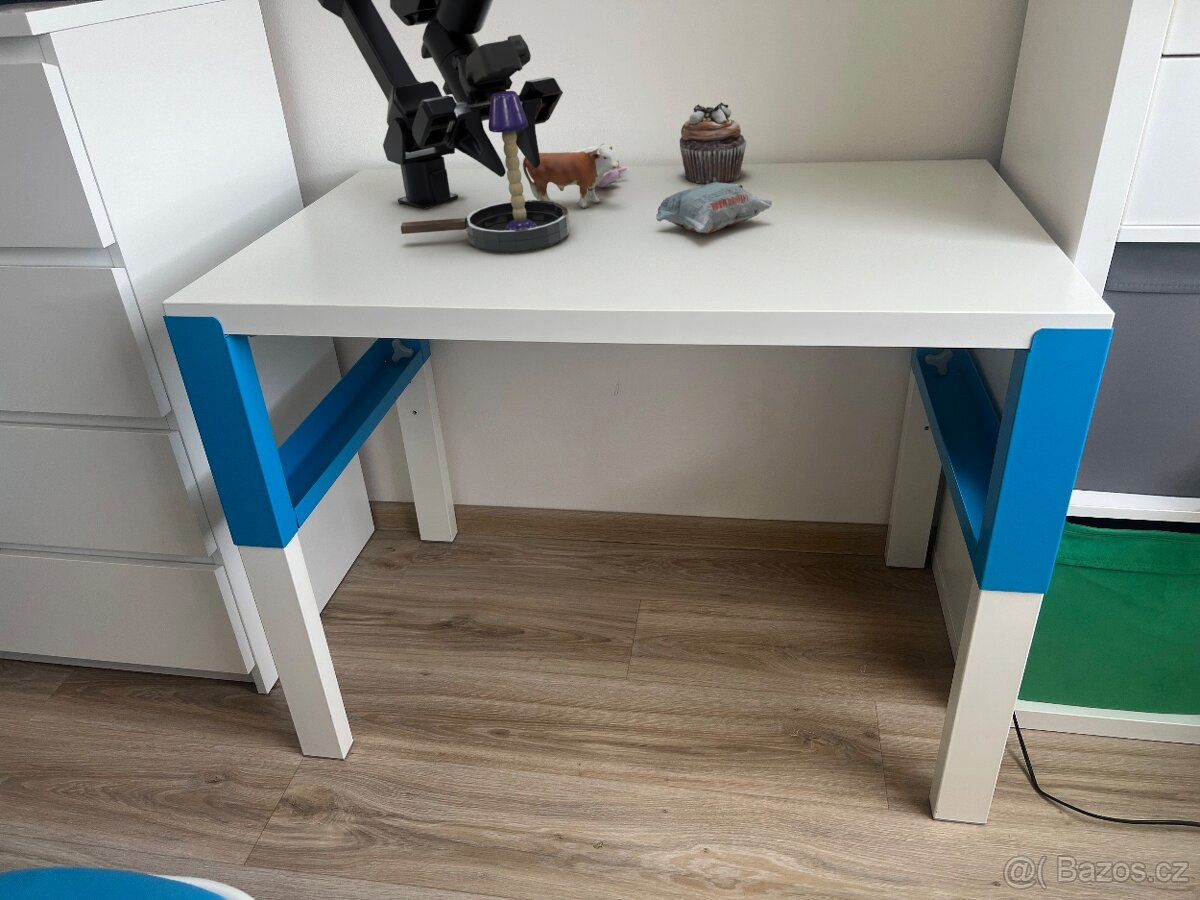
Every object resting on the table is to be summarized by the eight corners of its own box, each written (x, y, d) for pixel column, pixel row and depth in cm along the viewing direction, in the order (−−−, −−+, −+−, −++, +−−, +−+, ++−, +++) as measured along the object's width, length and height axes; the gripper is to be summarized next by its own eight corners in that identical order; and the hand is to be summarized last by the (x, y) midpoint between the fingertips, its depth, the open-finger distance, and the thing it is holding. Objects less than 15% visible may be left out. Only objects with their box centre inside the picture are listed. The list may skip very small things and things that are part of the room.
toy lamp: (494, 237, 109) (476, 95, 100) (516, 226, 112) (500, 88, 104) (526, 241, 107) (510, 96, 98) (547, 230, 110) (533, 89, 101)
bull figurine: (618, 211, 117) (615, 148, 113) (523, 209, 120) (517, 148, 116) (625, 201, 121) (623, 140, 116) (533, 200, 124) (527, 140, 119)
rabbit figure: (591, 181, 135) (571, 193, 122) (590, 140, 133) (569, 148, 119) (631, 181, 134) (615, 192, 120) (630, 140, 132) (614, 147, 118)
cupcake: (683, 187, 125) (682, 114, 119) (677, 170, 133) (676, 100, 128) (750, 183, 124) (752, 109, 119) (740, 166, 133) (741, 96, 127)
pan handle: (467, 225, 110) (465, 217, 109) (465, 229, 108) (464, 221, 108) (403, 230, 110) (402, 222, 109) (401, 234, 108) (400, 226, 108)
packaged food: (770, 223, 109) (772, 183, 106) (699, 247, 103) (698, 205, 101) (722, 210, 115) (723, 172, 112) (652, 231, 109) (651, 191, 107)
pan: (447, 242, 110) (443, 220, 109) (521, 215, 118) (518, 194, 116) (516, 261, 102) (513, 238, 101) (590, 232, 110) (589, 210, 109)
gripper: (405, 22, 94) (471, 143, 93) (547, 3, 104) (609, 112, 102) (387, 92, 104) (446, 202, 102) (518, 68, 113) (574, 169, 111)
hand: (521, 170), depth 104 cm, fingers open, 5 cm apart
